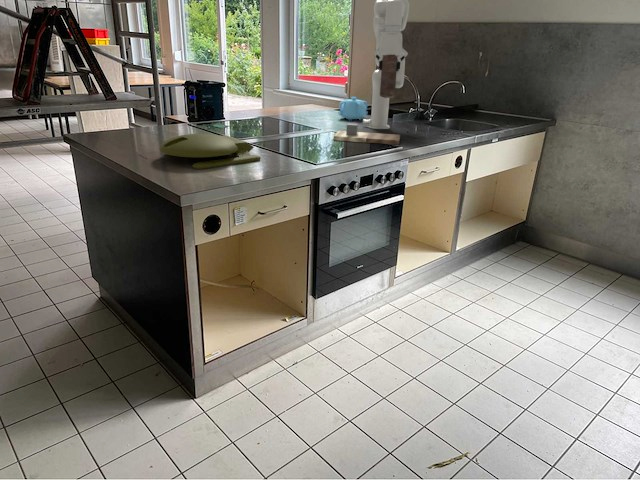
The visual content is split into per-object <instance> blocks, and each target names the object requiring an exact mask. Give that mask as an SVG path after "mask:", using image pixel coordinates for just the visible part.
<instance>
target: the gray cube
mask: <svg viewBox="0 0 640 480" xmlns="http://www.w3.org/2000/svg"><path fill="white" fill-rule="evenodd" d="M358 127H359V124H358V123H349V122H347V124H346V130H345V131H346V135H355V136H356V135H357V132H358Z"/></svg>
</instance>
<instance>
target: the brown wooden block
mask: <svg viewBox="0 0 640 480" xmlns="http://www.w3.org/2000/svg"><path fill="white" fill-rule="evenodd" d="M397 61H398V59H397V56H396V55H385V56H383V58H382V71H381V84H380V96H381V97H384V98H389V99H391V100H392V99H395V98H396V89H397V88H396V73H397Z"/></svg>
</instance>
